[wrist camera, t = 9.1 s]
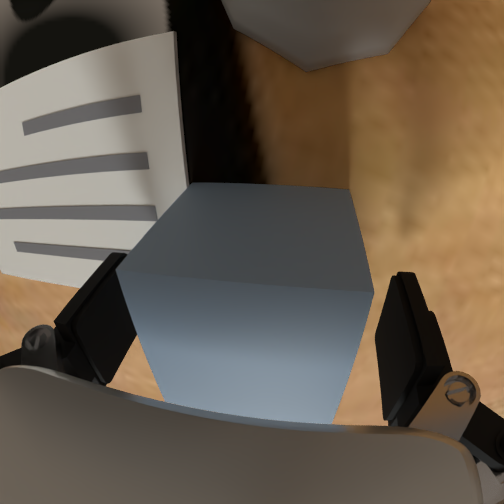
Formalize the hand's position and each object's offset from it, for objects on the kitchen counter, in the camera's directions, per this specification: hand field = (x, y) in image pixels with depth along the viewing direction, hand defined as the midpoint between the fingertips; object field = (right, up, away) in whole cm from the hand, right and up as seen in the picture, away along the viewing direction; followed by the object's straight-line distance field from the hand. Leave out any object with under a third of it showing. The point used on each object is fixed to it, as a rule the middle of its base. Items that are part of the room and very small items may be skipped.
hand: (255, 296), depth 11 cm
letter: (-10, +5, +2) cm, 12 cm away
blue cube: (+1, +2, +2) cm, 3 cm away
